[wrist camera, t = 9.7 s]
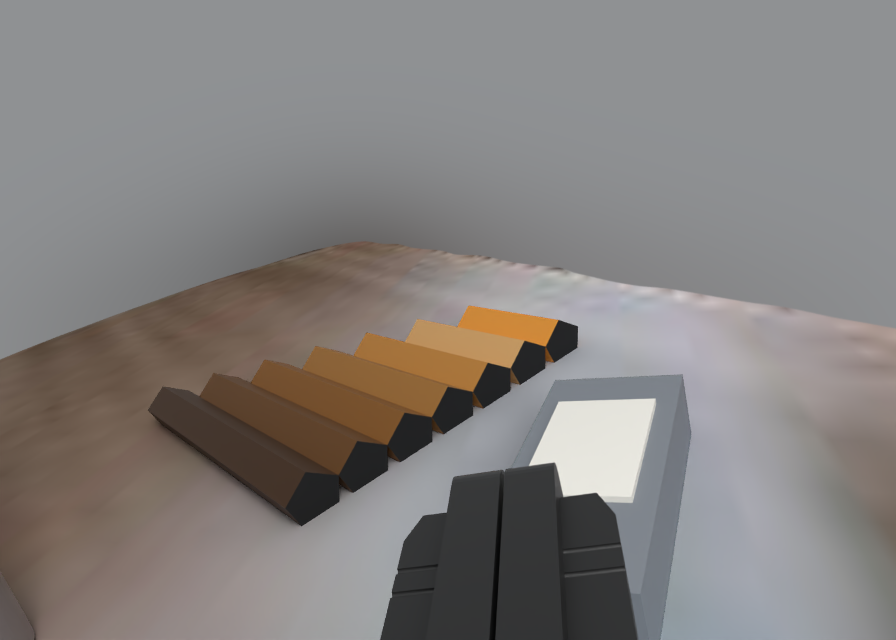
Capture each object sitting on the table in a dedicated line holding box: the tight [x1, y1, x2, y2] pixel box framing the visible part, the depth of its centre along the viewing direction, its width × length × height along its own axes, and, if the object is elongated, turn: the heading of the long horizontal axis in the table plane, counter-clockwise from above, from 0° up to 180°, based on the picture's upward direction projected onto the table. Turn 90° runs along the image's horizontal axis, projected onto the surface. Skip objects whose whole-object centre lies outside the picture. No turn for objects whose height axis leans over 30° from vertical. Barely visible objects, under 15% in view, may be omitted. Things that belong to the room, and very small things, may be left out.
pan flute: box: [148, 306, 578, 526], centre depth 56 cm, size 25×3×25 cm
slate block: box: [512, 375, 691, 640], centre depth 34 cm, size 4×7×16 cm
